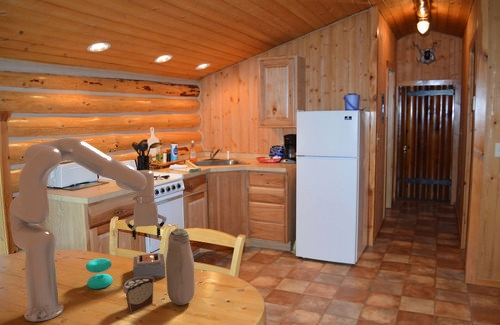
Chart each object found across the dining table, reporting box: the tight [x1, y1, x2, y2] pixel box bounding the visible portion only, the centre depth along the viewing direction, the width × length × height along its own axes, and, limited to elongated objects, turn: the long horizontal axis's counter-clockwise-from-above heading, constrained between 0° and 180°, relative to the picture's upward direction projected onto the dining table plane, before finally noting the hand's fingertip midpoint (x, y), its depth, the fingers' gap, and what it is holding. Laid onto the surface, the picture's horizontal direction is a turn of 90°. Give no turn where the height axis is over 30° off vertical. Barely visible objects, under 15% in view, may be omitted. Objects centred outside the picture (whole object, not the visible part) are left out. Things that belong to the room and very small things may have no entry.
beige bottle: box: [165, 228, 196, 306], centre depth 152 cm, size 10×10×28 cm
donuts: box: [85, 257, 114, 290], centre depth 170 cm, size 10×10×10 cm
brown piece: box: [122, 276, 156, 315], centre depth 151 cm, size 12×6×10 cm, turn 141°
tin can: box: [142, 253, 154, 261], centre depth 181 cm, size 5×5×8 cm
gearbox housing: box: [132, 252, 166, 280], centre depth 181 cm, size 13×13×7 cm
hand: (146, 237), depth 179 cm, fingers open, 9 cm apart
